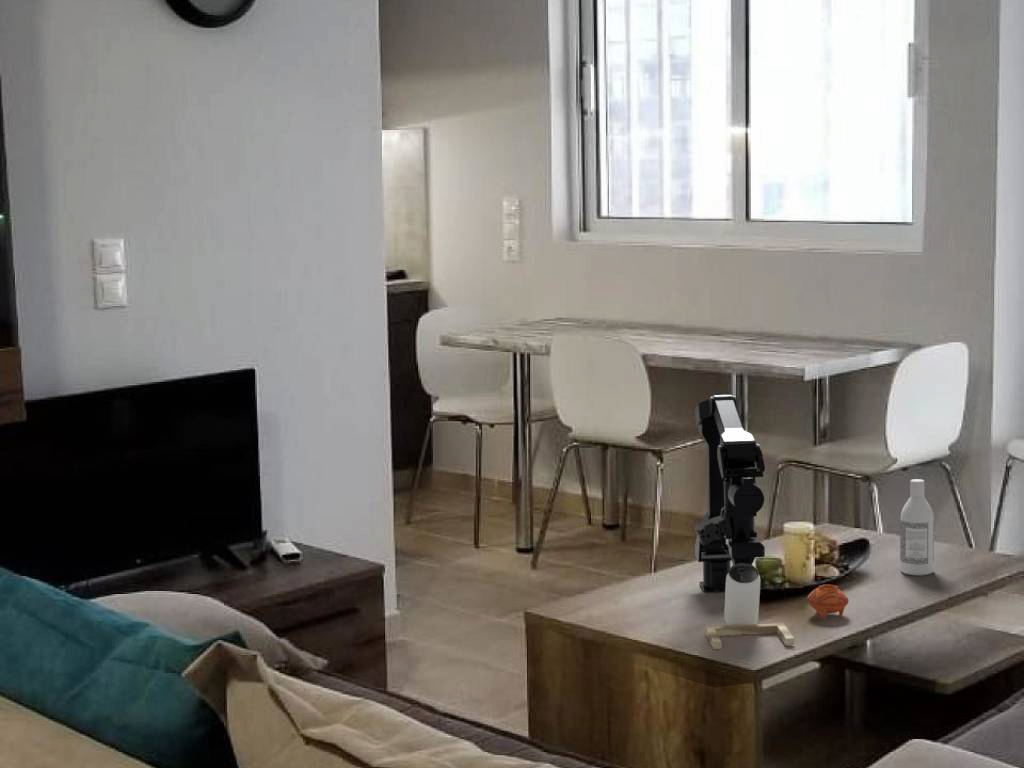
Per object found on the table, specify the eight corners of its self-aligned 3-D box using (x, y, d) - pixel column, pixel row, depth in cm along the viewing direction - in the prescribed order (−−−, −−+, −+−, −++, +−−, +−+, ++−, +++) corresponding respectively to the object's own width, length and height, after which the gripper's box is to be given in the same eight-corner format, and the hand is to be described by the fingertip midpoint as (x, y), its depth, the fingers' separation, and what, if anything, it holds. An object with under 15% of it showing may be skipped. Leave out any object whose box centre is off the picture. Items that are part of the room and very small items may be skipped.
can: (730, 634, 310) (733, 587, 304) (719, 611, 316) (721, 564, 309) (762, 627, 311) (765, 580, 305) (751, 605, 317) (754, 558, 310)
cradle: (705, 634, 310) (705, 626, 310) (783, 630, 311) (783, 623, 310) (713, 649, 301) (713, 641, 300) (794, 646, 301) (794, 638, 301)
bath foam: (912, 566, 354) (912, 475, 351) (940, 571, 349) (940, 479, 346) (893, 572, 349) (894, 480, 346) (921, 578, 344) (922, 485, 341)
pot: (796, 614, 320) (801, 580, 320) (824, 616, 324) (829, 582, 324) (825, 622, 313) (830, 587, 313) (853, 624, 318) (859, 589, 318)
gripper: (689, 495, 320) (691, 573, 322) (704, 515, 301) (706, 598, 303) (746, 493, 320) (747, 571, 322) (764, 513, 302) (765, 595, 304)
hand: (740, 583), depth 313 cm, fingers closed
